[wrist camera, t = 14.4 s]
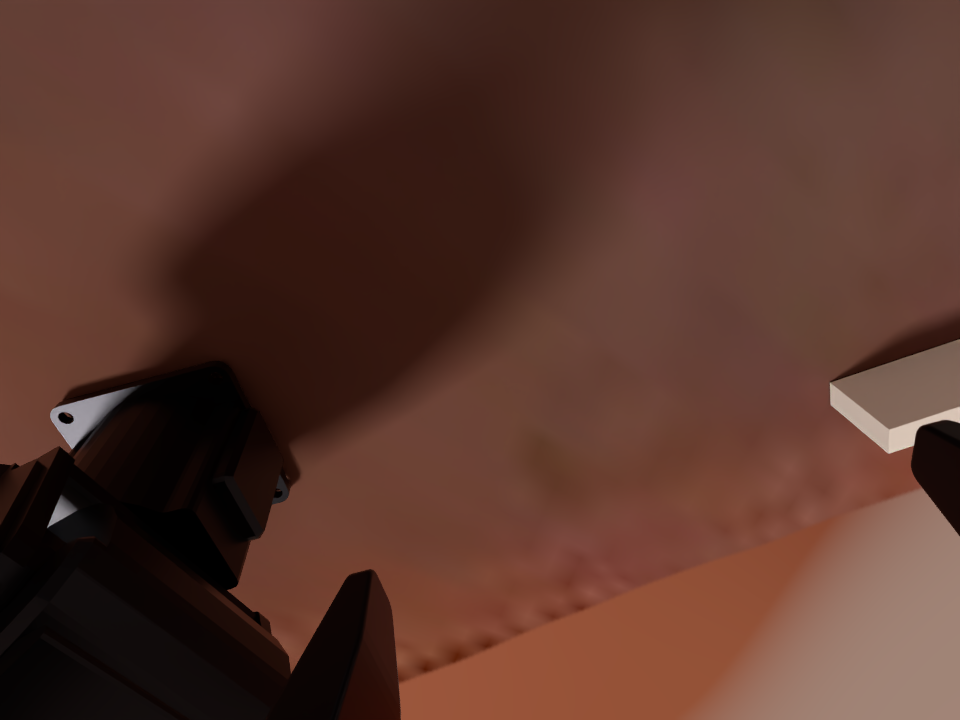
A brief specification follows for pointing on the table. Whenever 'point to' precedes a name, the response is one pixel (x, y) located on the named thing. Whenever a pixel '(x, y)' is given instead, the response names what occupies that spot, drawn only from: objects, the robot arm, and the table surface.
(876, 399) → the bay
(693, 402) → the table surface
